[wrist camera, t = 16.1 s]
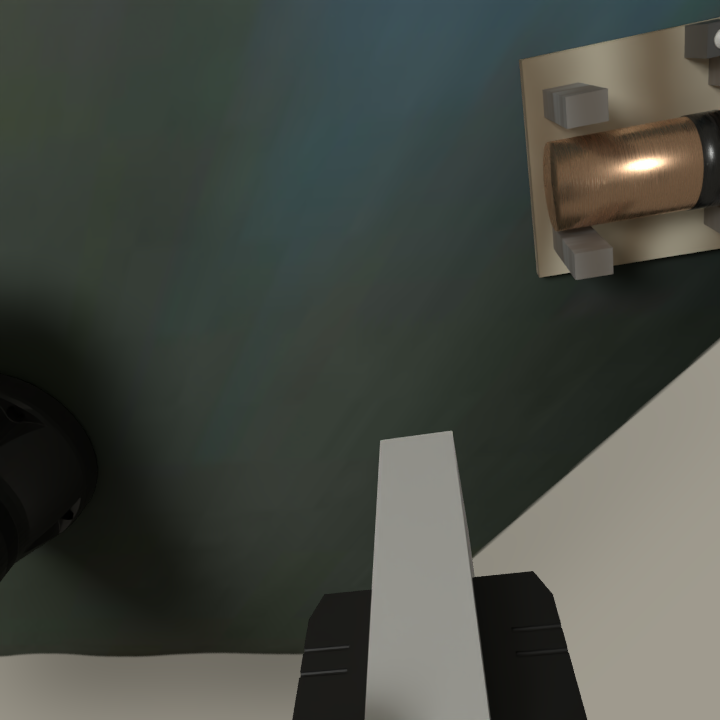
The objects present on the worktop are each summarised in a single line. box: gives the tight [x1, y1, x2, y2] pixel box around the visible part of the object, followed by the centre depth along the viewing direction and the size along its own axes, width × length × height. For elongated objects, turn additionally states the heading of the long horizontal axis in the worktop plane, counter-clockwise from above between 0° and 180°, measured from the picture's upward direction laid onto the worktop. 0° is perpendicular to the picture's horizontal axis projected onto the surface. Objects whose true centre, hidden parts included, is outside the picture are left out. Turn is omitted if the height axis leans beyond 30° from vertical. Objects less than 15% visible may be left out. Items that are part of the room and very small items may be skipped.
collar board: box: [519, 17, 720, 280], centre depth 35 cm, size 13×13×7 cm
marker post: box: [684, 19, 720, 59], centre depth 33 cm, size 2×2×3 cm
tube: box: [543, 110, 720, 231], centre depth 35 cm, size 16×5×5 cm, turn 101°
